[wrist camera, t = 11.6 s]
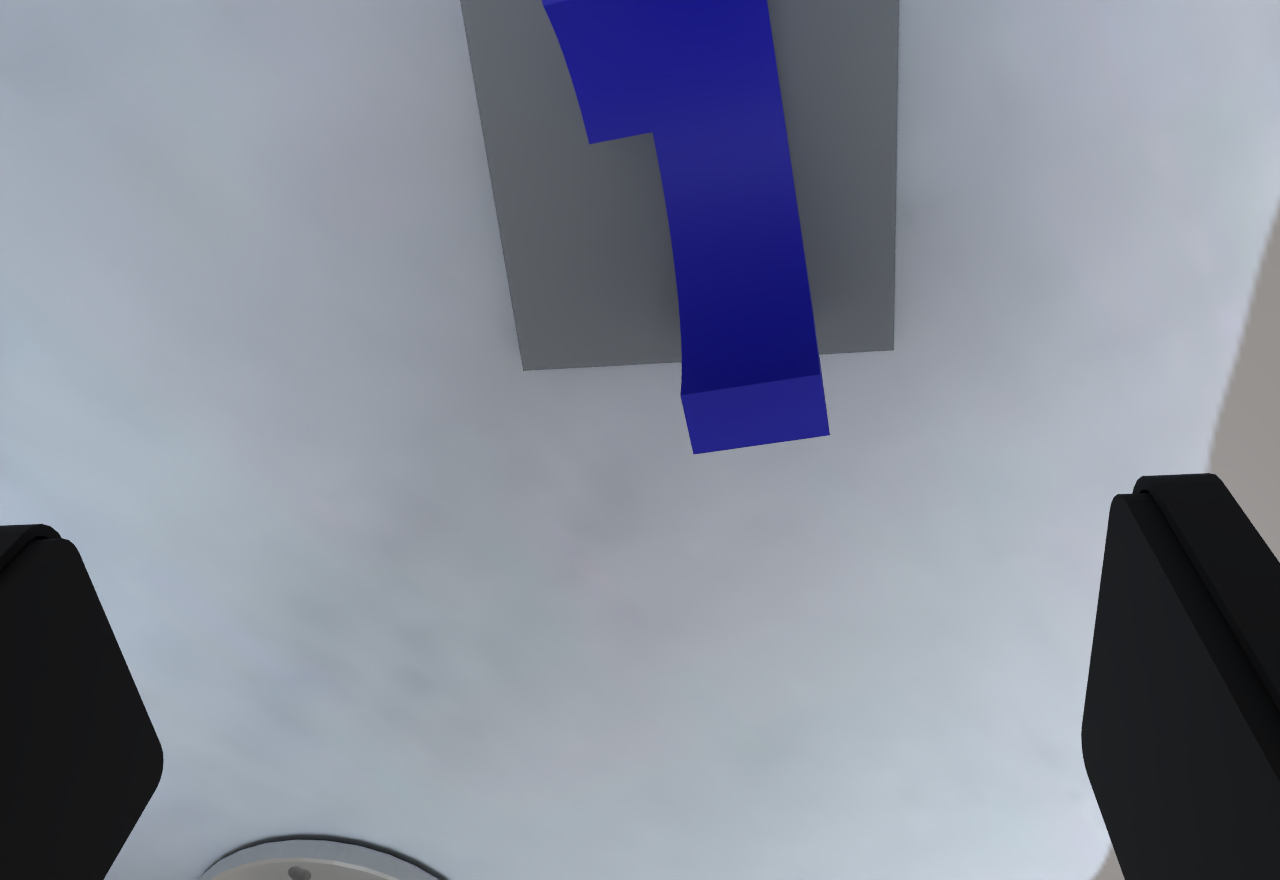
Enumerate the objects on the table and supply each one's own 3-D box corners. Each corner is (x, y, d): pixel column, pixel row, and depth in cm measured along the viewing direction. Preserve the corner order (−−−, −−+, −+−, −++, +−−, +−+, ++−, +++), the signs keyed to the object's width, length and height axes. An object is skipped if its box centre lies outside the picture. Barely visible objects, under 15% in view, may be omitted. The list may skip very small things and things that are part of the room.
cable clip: (533, -145, 24) (477, -124, 19) (738, -195, 24) (737, -187, 18) (647, 346, 30) (627, 463, 25) (814, 319, 29) (829, 434, 24)
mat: (890, 340, 30) (893, 350, 30) (527, 360, 31) (523, 370, 31) (899, -273, 23) (902, -274, 23) (429, -217, 24) (423, -217, 24)
